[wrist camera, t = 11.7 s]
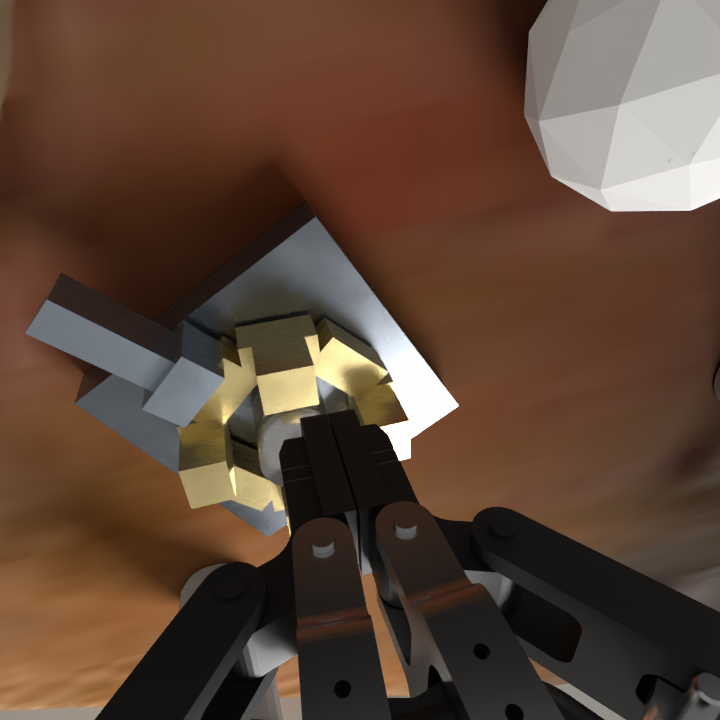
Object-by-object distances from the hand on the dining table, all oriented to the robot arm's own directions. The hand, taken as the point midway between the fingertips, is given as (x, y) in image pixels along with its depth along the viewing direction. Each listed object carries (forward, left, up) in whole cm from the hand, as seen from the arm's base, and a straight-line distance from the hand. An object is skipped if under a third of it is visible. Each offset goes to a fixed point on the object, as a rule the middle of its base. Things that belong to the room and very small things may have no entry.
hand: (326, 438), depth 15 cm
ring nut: (-5, +7, -16) cm, 18 cm away
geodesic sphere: (-4, -20, -19) cm, 28 cm away
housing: (-9, +6, -19) cm, 22 cm away
